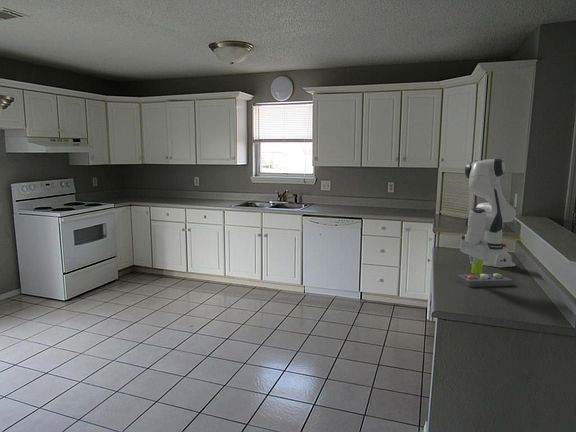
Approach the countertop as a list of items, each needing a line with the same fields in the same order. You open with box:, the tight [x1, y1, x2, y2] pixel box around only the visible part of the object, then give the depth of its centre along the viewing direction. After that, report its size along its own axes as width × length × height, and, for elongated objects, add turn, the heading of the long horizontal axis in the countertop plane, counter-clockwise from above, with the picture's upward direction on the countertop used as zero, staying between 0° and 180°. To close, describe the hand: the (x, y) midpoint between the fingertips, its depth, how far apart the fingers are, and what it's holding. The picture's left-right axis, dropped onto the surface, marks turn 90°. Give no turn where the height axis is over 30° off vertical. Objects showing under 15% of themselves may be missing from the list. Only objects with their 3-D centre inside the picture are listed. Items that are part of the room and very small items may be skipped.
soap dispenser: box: [470, 240, 487, 274], centre depth 241 cm, size 6×7×20 cm
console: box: [455, 273, 514, 288], centre depth 223 cm, size 26×12×3 cm, turn 101°
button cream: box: [480, 273, 489, 279], centre depth 223 cm, size 4×4×3 cm
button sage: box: [492, 272, 503, 279], centre depth 224 cm, size 4×4×3 cm
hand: (473, 264), depth 220 cm, fingers closed
